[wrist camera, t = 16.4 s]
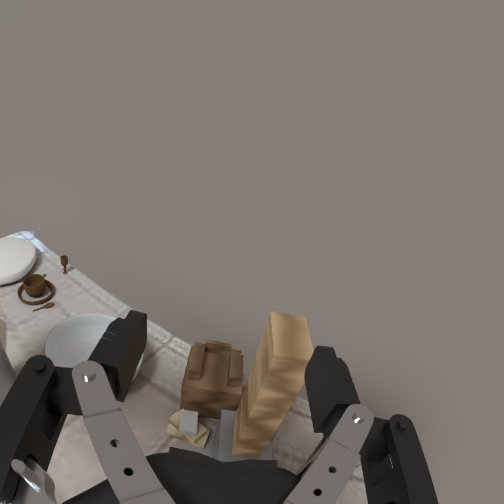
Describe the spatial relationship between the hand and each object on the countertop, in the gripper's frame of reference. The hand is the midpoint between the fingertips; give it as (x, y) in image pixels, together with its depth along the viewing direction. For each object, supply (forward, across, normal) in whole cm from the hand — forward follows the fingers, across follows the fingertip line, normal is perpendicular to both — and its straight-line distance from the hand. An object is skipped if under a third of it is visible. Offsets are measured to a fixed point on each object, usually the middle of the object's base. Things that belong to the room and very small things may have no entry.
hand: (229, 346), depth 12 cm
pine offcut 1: (+16, +2, +36) cm, 40 cm away
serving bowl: (+25, +23, +38) cm, 51 cm away
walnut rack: (+25, -1, +38) cm, 46 cm away
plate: (+48, +74, +38) cm, 96 cm away
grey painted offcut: (+15, +2, +34) cm, 38 cm away
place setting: (+45, +50, +39) cm, 78 cm away
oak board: (+12, -7, +30) cm, 33 cm away
